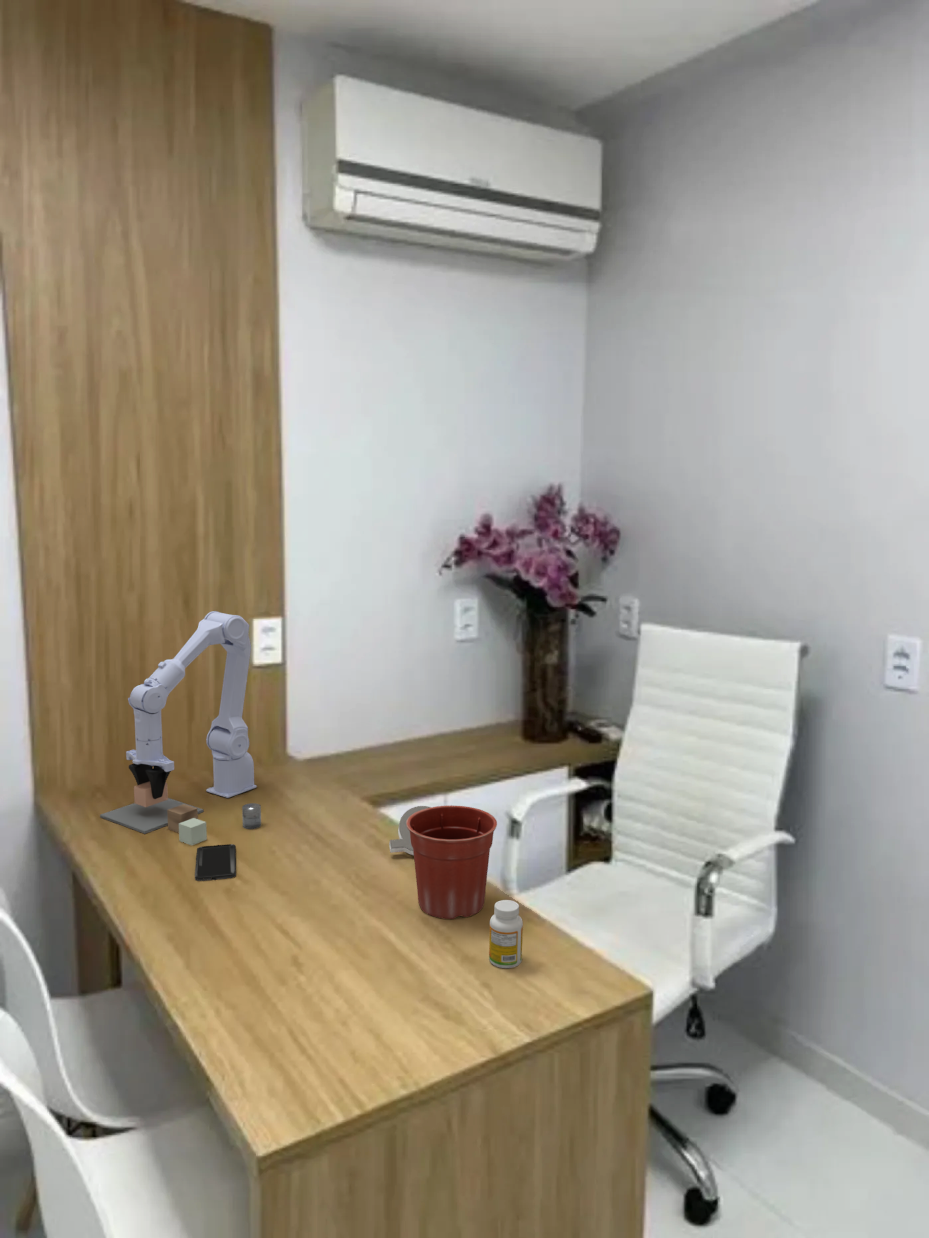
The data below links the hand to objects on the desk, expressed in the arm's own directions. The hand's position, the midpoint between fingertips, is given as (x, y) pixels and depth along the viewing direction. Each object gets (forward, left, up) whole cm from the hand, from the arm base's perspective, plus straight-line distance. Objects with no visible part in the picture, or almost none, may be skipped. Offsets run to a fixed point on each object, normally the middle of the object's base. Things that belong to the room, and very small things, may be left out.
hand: (151, 795), depth 213 cm
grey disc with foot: (-22, +62, -5) cm, 65 cm away
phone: (+9, +32, -5) cm, 34 cm away
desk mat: (0, 0, -5) cm, 5 cm away
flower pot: (-5, +80, -5) cm, 81 cm away
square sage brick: (+4, +19, -5) cm, 20 cm away
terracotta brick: (0, 0, -1) cm, 1 cm away
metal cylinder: (-9, +23, -5) cm, 25 cm away
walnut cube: (+1, +12, -5) cm, 13 cm away
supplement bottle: (+6, +99, -5) cm, 99 cm away
